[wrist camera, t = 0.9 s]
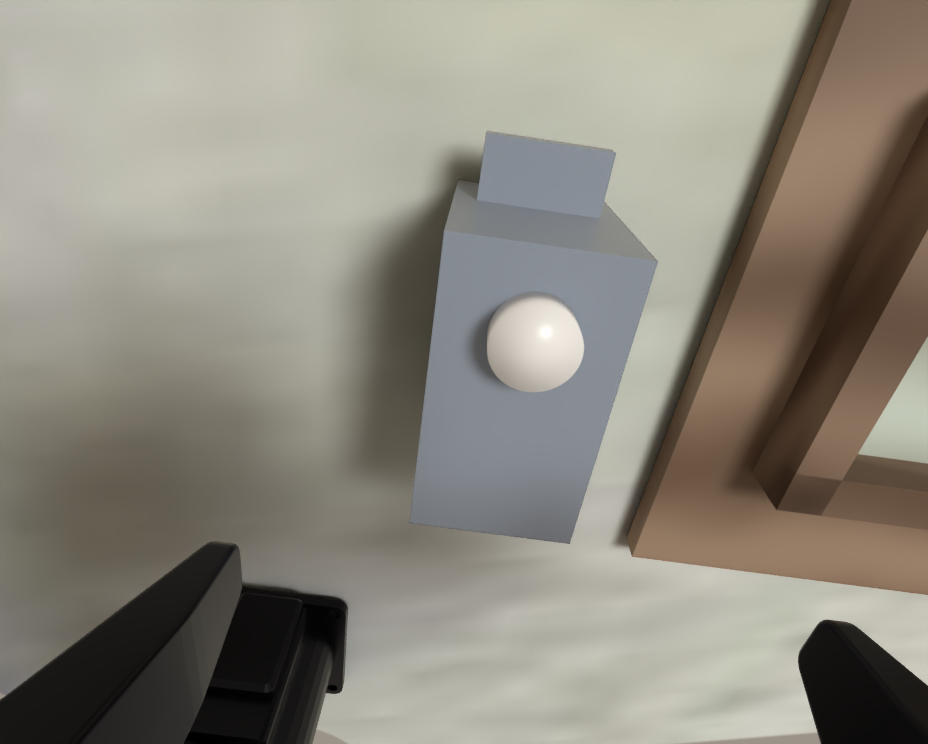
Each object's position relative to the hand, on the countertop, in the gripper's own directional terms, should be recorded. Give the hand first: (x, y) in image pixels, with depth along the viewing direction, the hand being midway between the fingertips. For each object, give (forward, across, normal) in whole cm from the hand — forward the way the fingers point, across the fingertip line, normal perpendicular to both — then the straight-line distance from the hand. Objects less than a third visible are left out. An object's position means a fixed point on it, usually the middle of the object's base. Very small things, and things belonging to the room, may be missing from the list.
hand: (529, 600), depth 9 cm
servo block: (+11, 0, 0) cm, 11 cm away
